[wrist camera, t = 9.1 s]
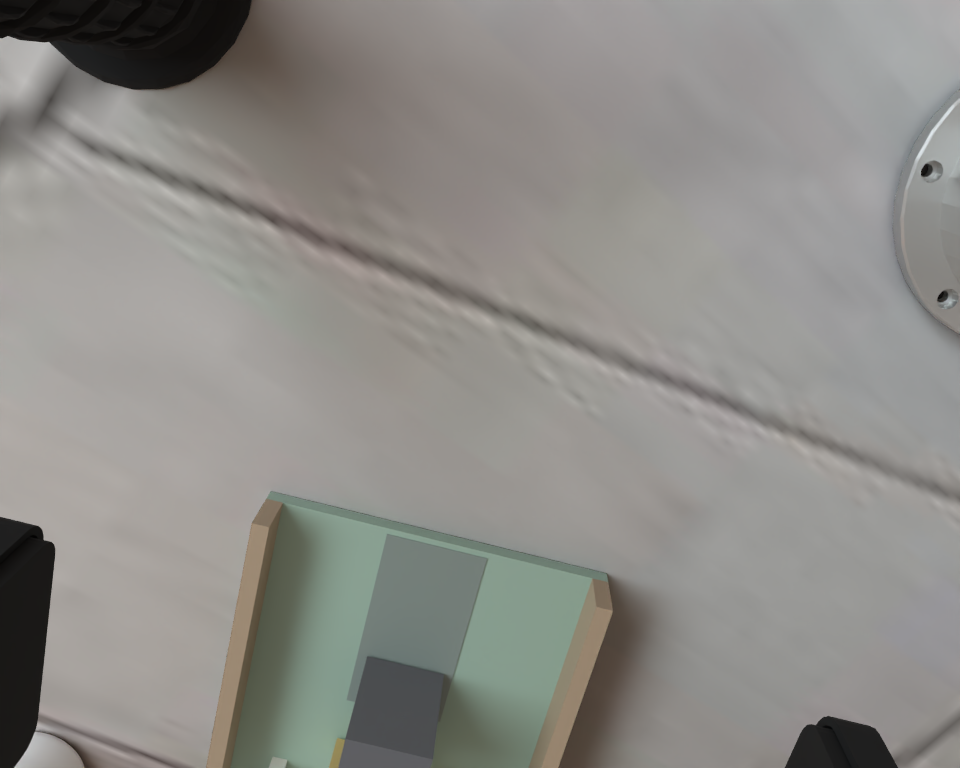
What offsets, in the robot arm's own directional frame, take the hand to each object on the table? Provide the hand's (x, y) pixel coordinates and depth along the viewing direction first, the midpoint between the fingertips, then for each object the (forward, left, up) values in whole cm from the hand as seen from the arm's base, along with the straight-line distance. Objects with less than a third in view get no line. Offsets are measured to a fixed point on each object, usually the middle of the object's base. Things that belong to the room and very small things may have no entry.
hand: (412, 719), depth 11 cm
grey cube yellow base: (-1, +24, -29) cm, 38 cm away
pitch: (-1, +24, -30) cm, 39 cm away
